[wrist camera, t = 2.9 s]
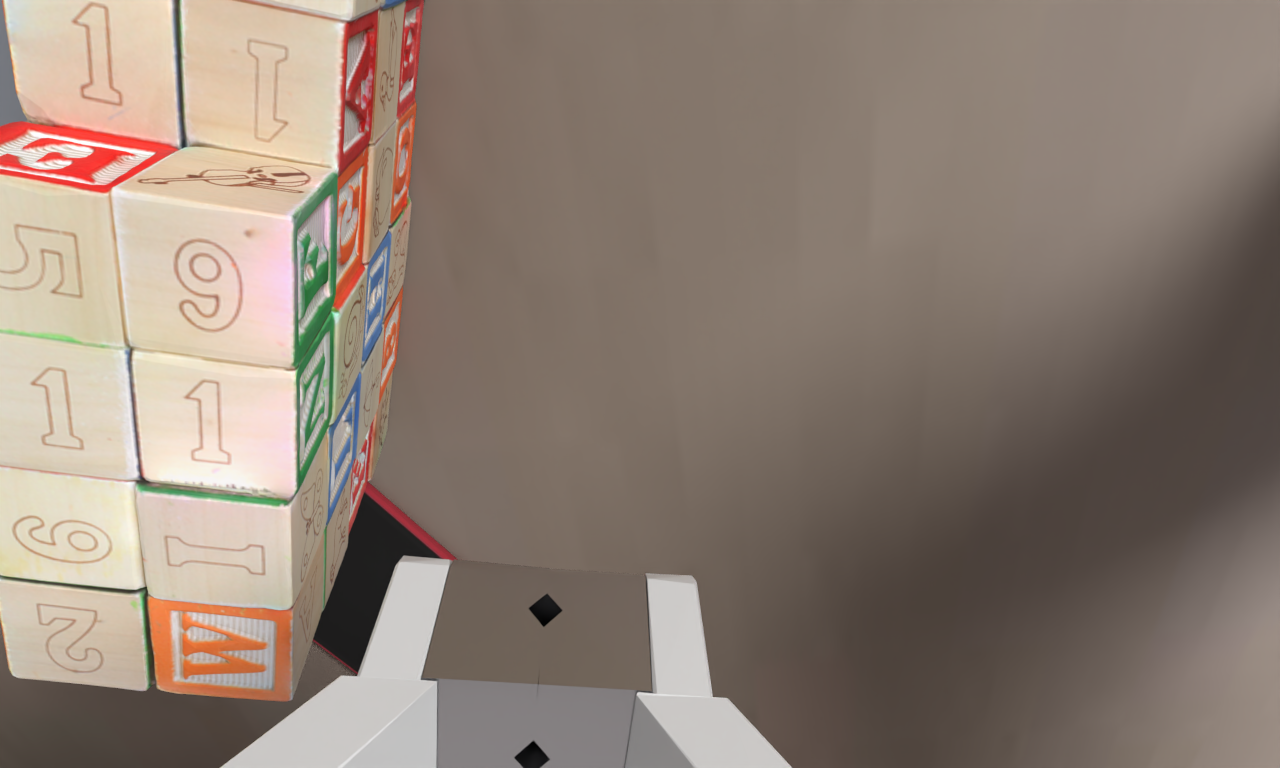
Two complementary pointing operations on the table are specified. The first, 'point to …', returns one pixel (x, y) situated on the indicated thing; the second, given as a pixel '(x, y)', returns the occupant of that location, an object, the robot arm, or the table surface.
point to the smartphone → (369, 575)
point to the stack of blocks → (195, 328)
